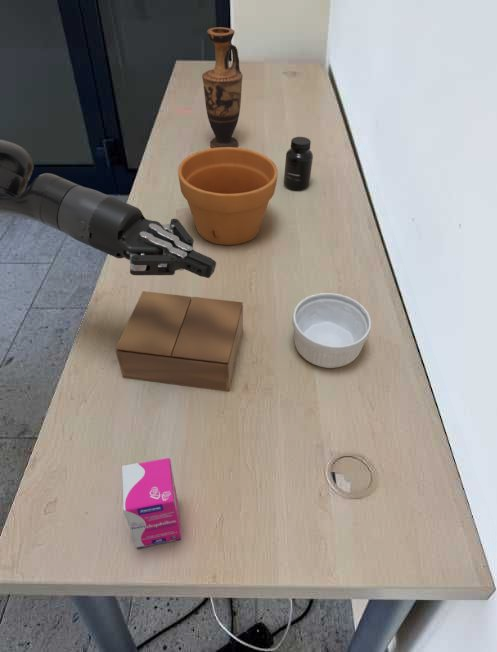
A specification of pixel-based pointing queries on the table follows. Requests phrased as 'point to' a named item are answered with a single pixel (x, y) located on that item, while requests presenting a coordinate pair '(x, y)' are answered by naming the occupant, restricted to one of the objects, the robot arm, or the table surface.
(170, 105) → the table surface
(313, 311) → the ramekin
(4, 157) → the robot arm
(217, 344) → the carton
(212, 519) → the table surface
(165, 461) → the supplement box
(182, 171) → the flower pot
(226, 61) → the vase
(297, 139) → the supplement bottle
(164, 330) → the flap
